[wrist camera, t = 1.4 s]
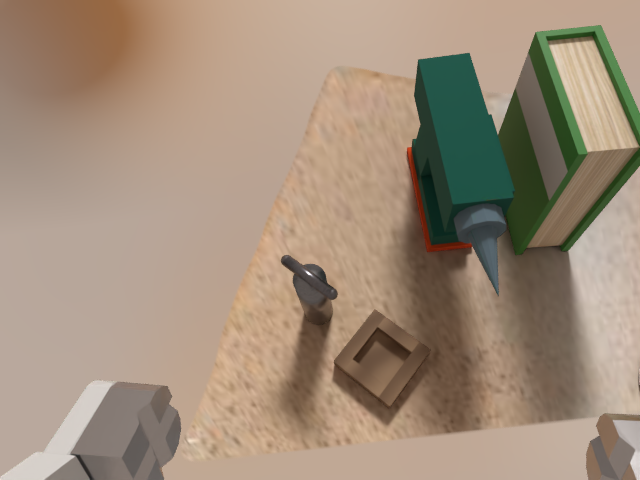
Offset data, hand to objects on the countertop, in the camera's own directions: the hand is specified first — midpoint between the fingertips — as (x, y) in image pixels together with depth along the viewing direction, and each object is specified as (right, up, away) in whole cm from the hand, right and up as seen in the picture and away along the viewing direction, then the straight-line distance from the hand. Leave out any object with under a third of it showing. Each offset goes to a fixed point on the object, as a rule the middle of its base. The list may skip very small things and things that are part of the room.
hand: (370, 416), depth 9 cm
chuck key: (-1, -7, +60) cm, 60 cm away
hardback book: (+31, +9, +65) cm, 72 cm away
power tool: (+18, +4, +64) cm, 66 cm away
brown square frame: (+7, -13, +56) cm, 58 cm away
